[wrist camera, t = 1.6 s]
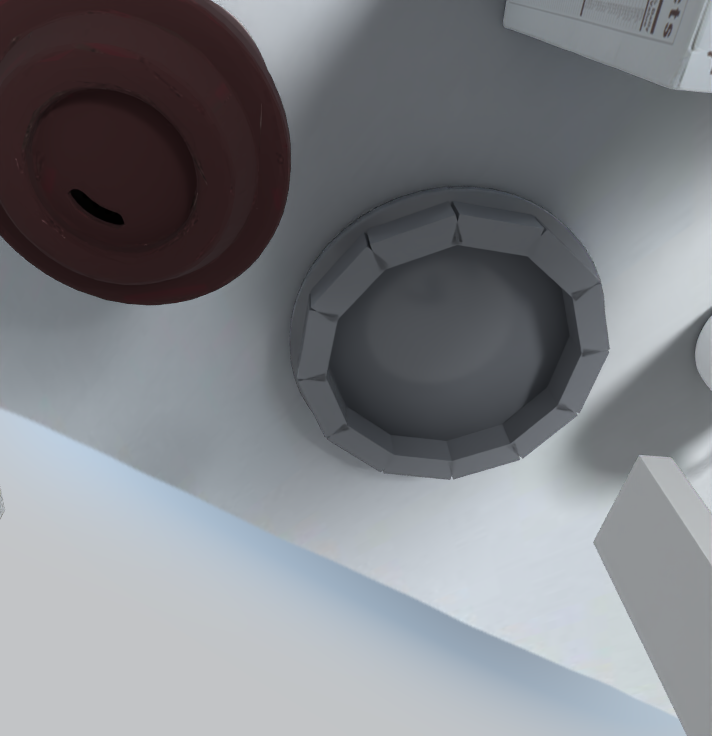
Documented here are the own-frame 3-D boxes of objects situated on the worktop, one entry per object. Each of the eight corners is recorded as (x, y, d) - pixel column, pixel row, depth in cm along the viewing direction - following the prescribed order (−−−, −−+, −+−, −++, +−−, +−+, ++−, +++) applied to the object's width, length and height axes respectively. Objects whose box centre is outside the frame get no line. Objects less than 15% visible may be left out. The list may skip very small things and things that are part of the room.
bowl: (317, 157, 33) (318, 175, 30) (651, 217, 36) (677, 238, 33) (272, 439, 43) (270, 470, 40) (535, 467, 46) (548, 497, 44)
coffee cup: (242, -81, 27) (191, -98, 15) (324, 144, 32) (337, 272, 20) (36, 6, 28) (-174, 59, 16) (148, 210, 34) (57, 368, 21)
